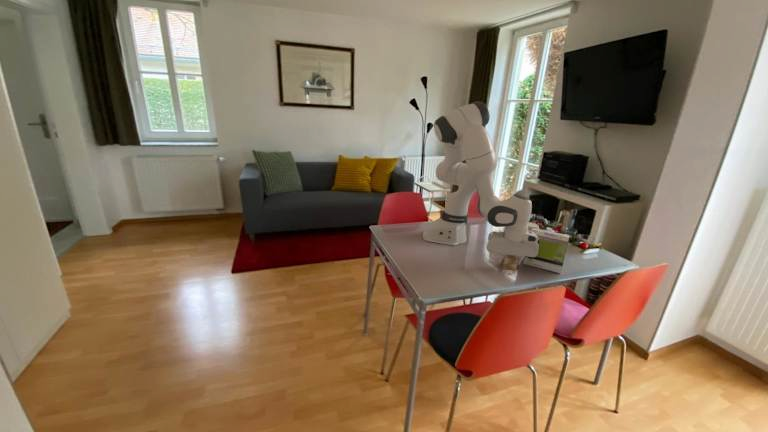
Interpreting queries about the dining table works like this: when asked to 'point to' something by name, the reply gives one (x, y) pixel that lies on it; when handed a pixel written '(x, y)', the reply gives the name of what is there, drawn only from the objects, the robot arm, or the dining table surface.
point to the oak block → (509, 262)
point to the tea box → (549, 250)
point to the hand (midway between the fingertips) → (509, 263)
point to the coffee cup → (532, 226)
